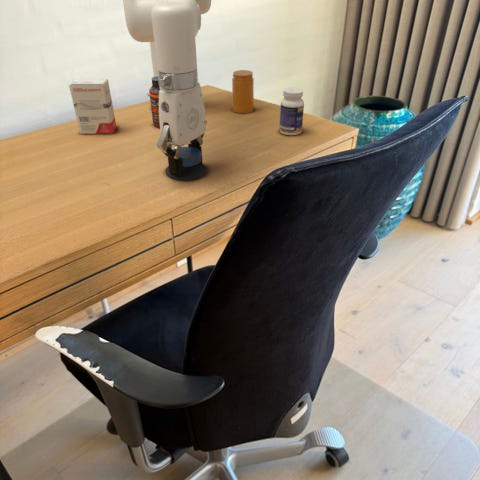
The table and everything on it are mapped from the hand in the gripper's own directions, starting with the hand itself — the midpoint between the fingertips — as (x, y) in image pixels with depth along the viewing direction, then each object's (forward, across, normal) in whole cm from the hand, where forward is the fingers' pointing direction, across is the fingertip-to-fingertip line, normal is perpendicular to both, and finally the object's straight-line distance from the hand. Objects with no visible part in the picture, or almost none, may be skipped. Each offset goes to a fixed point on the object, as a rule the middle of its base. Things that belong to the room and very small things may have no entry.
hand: (186, 168), depth 103 cm
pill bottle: (+1, +32, -9) cm, 33 cm away
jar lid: (-3, 0, 0) cm, 3 cm away
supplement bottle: (+1, +20, +22) cm, 30 cm away
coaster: (+1, 0, 0) cm, 1 cm away
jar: (+1, +40, +10) cm, 41 cm away
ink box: (+1, +8, +34) cm, 35 cm away
